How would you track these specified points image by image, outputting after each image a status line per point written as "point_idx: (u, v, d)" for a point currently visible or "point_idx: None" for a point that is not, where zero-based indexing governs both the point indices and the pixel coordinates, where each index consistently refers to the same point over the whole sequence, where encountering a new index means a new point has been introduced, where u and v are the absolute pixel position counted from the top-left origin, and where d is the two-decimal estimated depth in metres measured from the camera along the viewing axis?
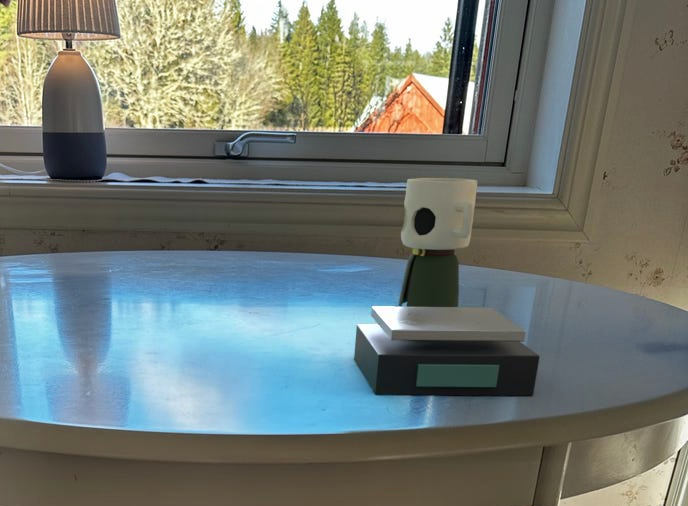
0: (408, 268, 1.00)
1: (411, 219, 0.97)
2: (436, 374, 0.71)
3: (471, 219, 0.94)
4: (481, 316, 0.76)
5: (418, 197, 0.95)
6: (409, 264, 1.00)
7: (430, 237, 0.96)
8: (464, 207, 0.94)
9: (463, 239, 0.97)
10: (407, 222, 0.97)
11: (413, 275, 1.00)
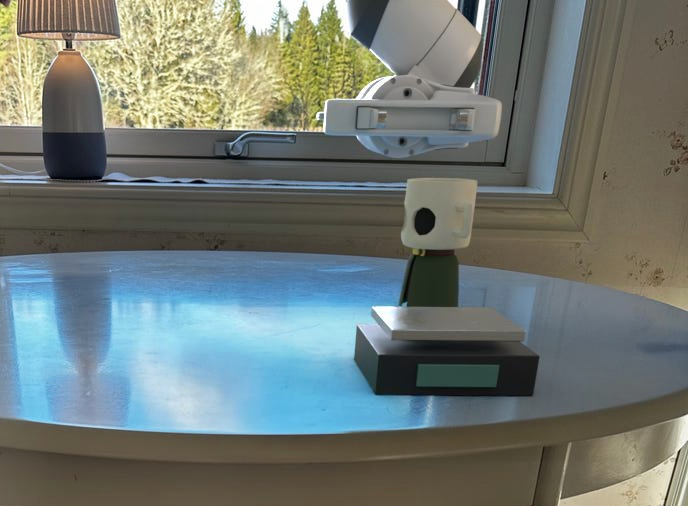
0: (408, 268, 1.00)
1: (411, 219, 0.97)
2: (436, 374, 0.71)
3: (471, 219, 0.94)
4: (481, 316, 0.76)
5: (418, 197, 0.95)
6: (409, 264, 1.00)
7: (430, 237, 0.96)
8: (464, 207, 0.94)
9: (463, 239, 0.97)
10: (407, 222, 0.97)
11: (413, 275, 1.00)
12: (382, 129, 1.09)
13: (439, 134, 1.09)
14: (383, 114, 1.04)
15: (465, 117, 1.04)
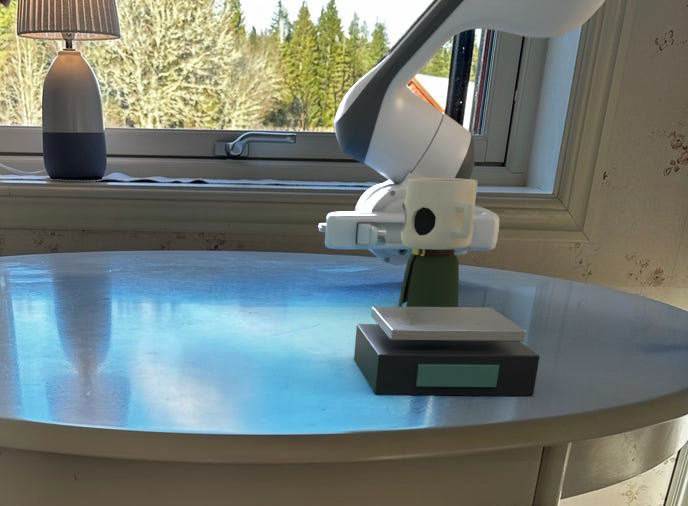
0: (408, 268, 1.00)
1: (411, 219, 0.97)
2: (436, 374, 0.71)
3: (471, 219, 0.94)
4: (481, 316, 0.76)
5: (418, 197, 0.95)
6: (409, 264, 1.00)
7: (430, 237, 0.96)
8: (464, 207, 0.94)
9: (463, 239, 0.97)
10: (407, 222, 0.97)
11: (413, 275, 1.00)
12: None
13: None
14: (382, 233, 1.06)
15: None
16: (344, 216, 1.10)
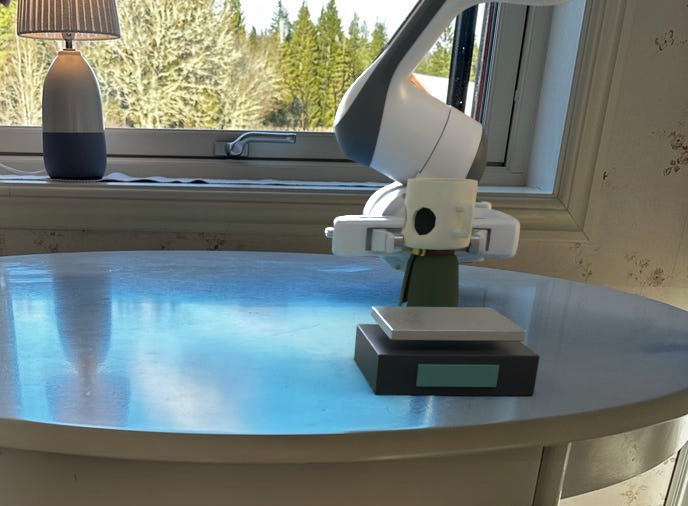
0: (408, 268, 1.00)
1: (411, 218, 0.97)
2: (436, 374, 0.71)
3: (471, 219, 0.94)
4: (481, 316, 0.76)
5: (418, 197, 0.95)
6: (409, 264, 1.00)
7: (430, 237, 0.96)
8: (464, 207, 0.94)
9: (463, 239, 0.97)
10: (407, 222, 0.97)
11: (413, 275, 1.00)
12: None
13: None
14: (399, 239, 0.99)
15: (476, 242, 0.99)
16: (353, 221, 1.02)
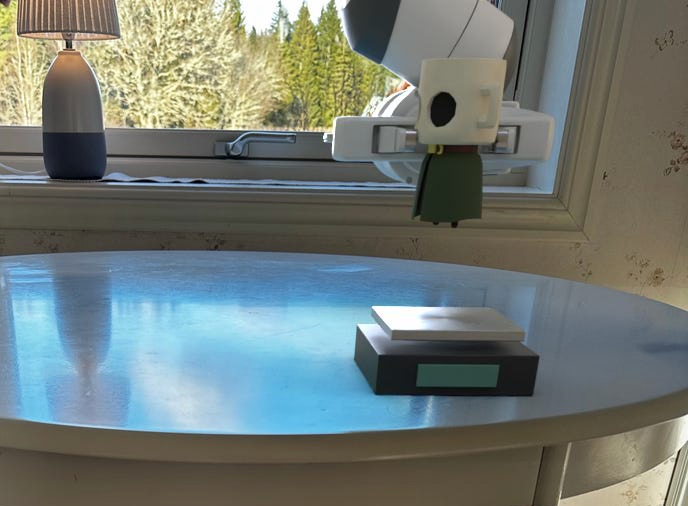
0: (422, 170, 0.84)
1: (426, 107, 0.81)
2: (436, 374, 0.71)
3: (499, 104, 0.78)
4: (481, 316, 0.76)
5: (435, 79, 0.79)
6: (424, 165, 0.84)
7: (450, 128, 0.80)
8: (491, 89, 0.78)
9: (489, 132, 0.81)
10: (421, 112, 0.81)
11: (428, 178, 0.83)
12: (405, 153, 0.88)
13: None
14: (412, 135, 0.83)
15: (504, 137, 0.83)
16: (357, 117, 0.86)
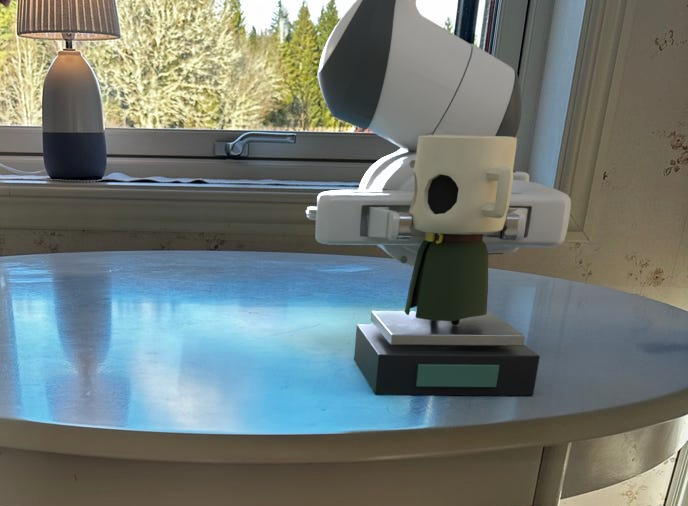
0: (419, 260, 0.73)
1: (423, 191, 0.69)
2: (436, 374, 0.71)
3: (509, 191, 0.66)
4: (480, 320, 0.76)
5: (434, 160, 0.68)
6: (420, 255, 0.73)
7: (450, 216, 0.69)
8: (499, 174, 0.66)
9: (496, 220, 0.69)
10: (418, 196, 0.70)
11: (426, 270, 0.72)
12: None
13: None
14: (406, 221, 0.71)
15: (514, 224, 0.71)
16: (343, 196, 0.75)
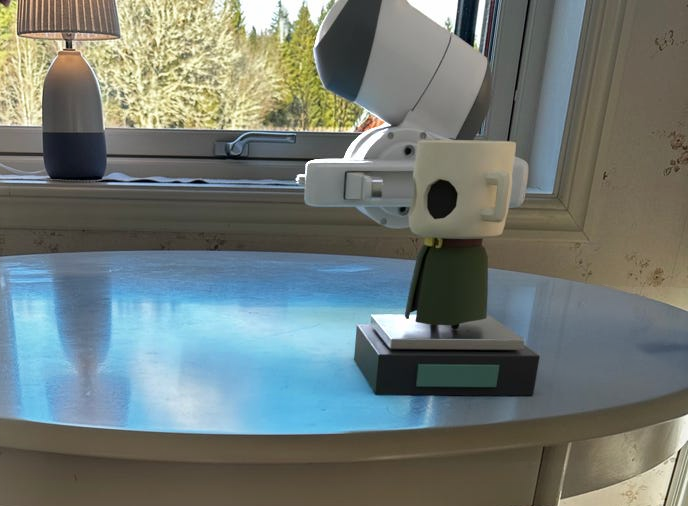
0: (418, 265, 0.73)
1: (423, 196, 0.70)
2: (436, 374, 0.71)
3: (508, 195, 0.67)
4: (480, 324, 0.76)
5: (433, 165, 0.68)
6: (420, 259, 0.73)
7: (450, 221, 0.69)
8: (498, 178, 0.66)
9: (495, 224, 0.70)
10: (417, 201, 0.70)
11: (425, 274, 0.72)
12: None
13: None
14: (378, 183, 0.82)
15: None
16: (328, 163, 0.85)
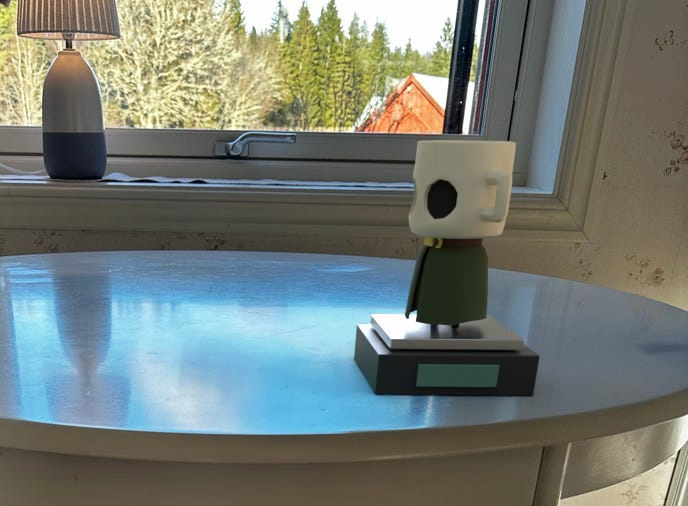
0: (418, 265, 0.73)
1: (423, 196, 0.70)
2: (436, 374, 0.71)
3: (508, 195, 0.67)
4: (480, 324, 0.76)
5: (433, 165, 0.68)
6: (420, 259, 0.73)
7: (450, 221, 0.69)
8: (498, 178, 0.66)
9: (495, 224, 0.70)
10: (417, 201, 0.70)
11: (425, 274, 0.72)
12: None
13: None
14: None
15: None
16: None
